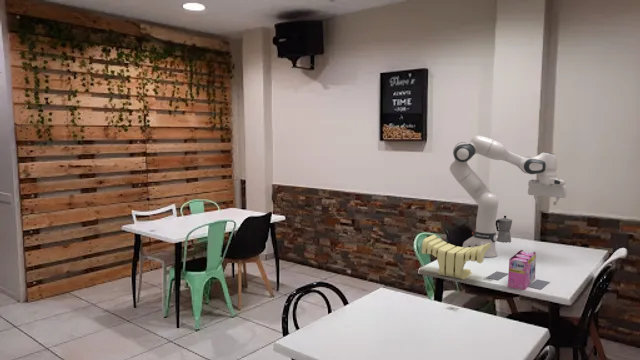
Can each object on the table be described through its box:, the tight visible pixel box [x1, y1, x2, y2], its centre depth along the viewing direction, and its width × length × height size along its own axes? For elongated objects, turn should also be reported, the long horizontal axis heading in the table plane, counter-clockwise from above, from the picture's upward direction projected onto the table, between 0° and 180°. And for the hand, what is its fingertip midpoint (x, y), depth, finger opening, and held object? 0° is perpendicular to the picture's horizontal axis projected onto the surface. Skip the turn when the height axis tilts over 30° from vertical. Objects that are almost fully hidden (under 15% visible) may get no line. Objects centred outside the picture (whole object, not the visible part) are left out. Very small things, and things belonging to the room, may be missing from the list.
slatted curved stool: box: [421, 234, 490, 280], centre depth 230 cm, size 30×16×18 cm, turn 54°
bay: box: [485, 270, 551, 290], centre depth 223 cm, size 26×15×1 cm, turn 48°
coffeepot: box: [495, 215, 513, 243], centre depth 309 cm, size 15×9×18 cm, turn 116°
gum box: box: [507, 249, 537, 291], centre depth 220 cm, size 24×8×14 cm, turn 143°
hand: (546, 204), depth 259 cm, fingers open, 8 cm apart
